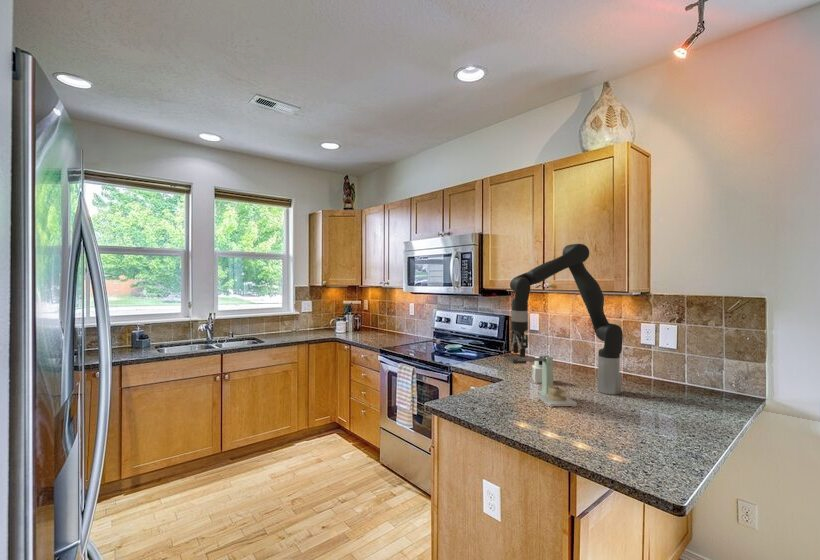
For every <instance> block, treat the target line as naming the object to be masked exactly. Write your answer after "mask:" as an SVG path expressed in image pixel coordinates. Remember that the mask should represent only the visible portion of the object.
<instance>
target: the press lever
mask: <svg viewBox="0 0 820 560" xmlns="http://www.w3.org/2000/svg"><path fill="white" fill-rule="evenodd" d="M544 356H545V357H544V358H535V357H520V355H506V356H505V359H506V360H507V362H508V361H509V362H510V363H512V364H514V365H515V364H516V365H517V364H519V365H520V364H521V365H522V364H527V362H535V361H547V358H551V357H550V356H549V355H544ZM548 356H549V357H548Z"/></svg>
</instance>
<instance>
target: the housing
mask: <svg viewBox="0 0 820 560" xmlns="http://www.w3.org/2000/svg"><path fill="white" fill-rule="evenodd" d="M566 396H567V389H565V388H564V387H562V386H553V387H548V397H549V398H550V399H551V400H553V401H566Z"/></svg>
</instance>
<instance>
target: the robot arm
mask: <svg viewBox="0 0 820 560" xmlns="http://www.w3.org/2000/svg"><path fill="white" fill-rule="evenodd" d="M589 257H590V249H589V247H588V246H587V245H586V244H583V243H572V244H567V245H565V246H564V248H563V249H562V254H561V255H560V256H559V257H556V258H553V259H552V260H549V261H546V262H544V263H542V264H540V265H537V266H536V267H534V268H531V269H530V270H529V271H526V272H524V273H521V274H519V275H517V276H515V277H513V278H512V279H511V281H510V282H509V287H510V290H512V291H513V292H515V294H514V298H512V301H511V313H510V315H511V316H510V330H511V334H510V342H511V344H512V345H513V346H512V353H513V354H519V357H521V358H526V349H528V347H529V344H528V343H529V338H528V337H529V336H528V334H526V333H525V332H527V331H528V329H529V327H528V326H529V313H528V312H529V311H528V309H529V308H528V301H529V297H530V292H531V286H532V285H537V284H540V283H541V282H543V281H545V280H547V279H548V278H551V277H552V276H554V275H556V274H558V273H560V272H562V271H563V270H566V269H569V271H570V273H571V275H572V278H573V279H574V282H575V284H576V287H577V289H578V291H579V294H580V296H581V299H582V302H583V303H584V305H585V308H586V310H587V313H588V314H589V318H590V320H591V324H592V328H593V330H594V333H595V336H596V338H597V339H599V340H600V341H601V342H602V341H603V342H604V343H603V347H602V348H600V349H598V355H597V356H598V357H597V358H598V360H597V361H598V363H597V364H598V365H597V369H598V371H597V391H598V392H600V393H601V394H605V395H618V394H622V373H621V372H620V369H621V367H620V366H621V365H620V363H621V362H620V361H621V353H622V350H623V341H624V339H623V338H624V333H623V329H622V328H621V326H620V325H618V324H615V323H611V322H609V321H608V319H607V317H606V315H605V312H604V306H605V296H604V293H603V291H602V289H601V287H600V285H599V283H598V281H597V280H596V279H595V277H593V275H591V273H590V272H589V271H588V270H587V268H586V266H585V264H584V262H586V261H587V260H588V259H589Z"/></svg>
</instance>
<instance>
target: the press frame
mask: <svg viewBox="0 0 820 560" xmlns="http://www.w3.org/2000/svg"><path fill="white" fill-rule="evenodd" d="M542 356H543V358H544V357H545V356H546V355H542ZM547 356H548V357H550V355H547ZM541 387H542V388H541V389H540V390H539V394H538V395H537V399H539V398H540V399H541V400H542V402H543V401H544V402H545V403H547V404H548V405H549V406H572V407H578V403H577V402H576V401H575V400H573V399H572V398H570V397H569V396H567V395H566V401H553V400H551V399H550V398H549V397H548V387H554V357H550V358H547V361H543V362H542V383H541ZM540 399H539V400H540ZM541 400H540V401H541ZM544 402H543V403H544ZM545 403H544V404H545ZM547 404H546V405H547ZM548 405H547V406H548ZM549 406H548V407H549Z"/></svg>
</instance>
